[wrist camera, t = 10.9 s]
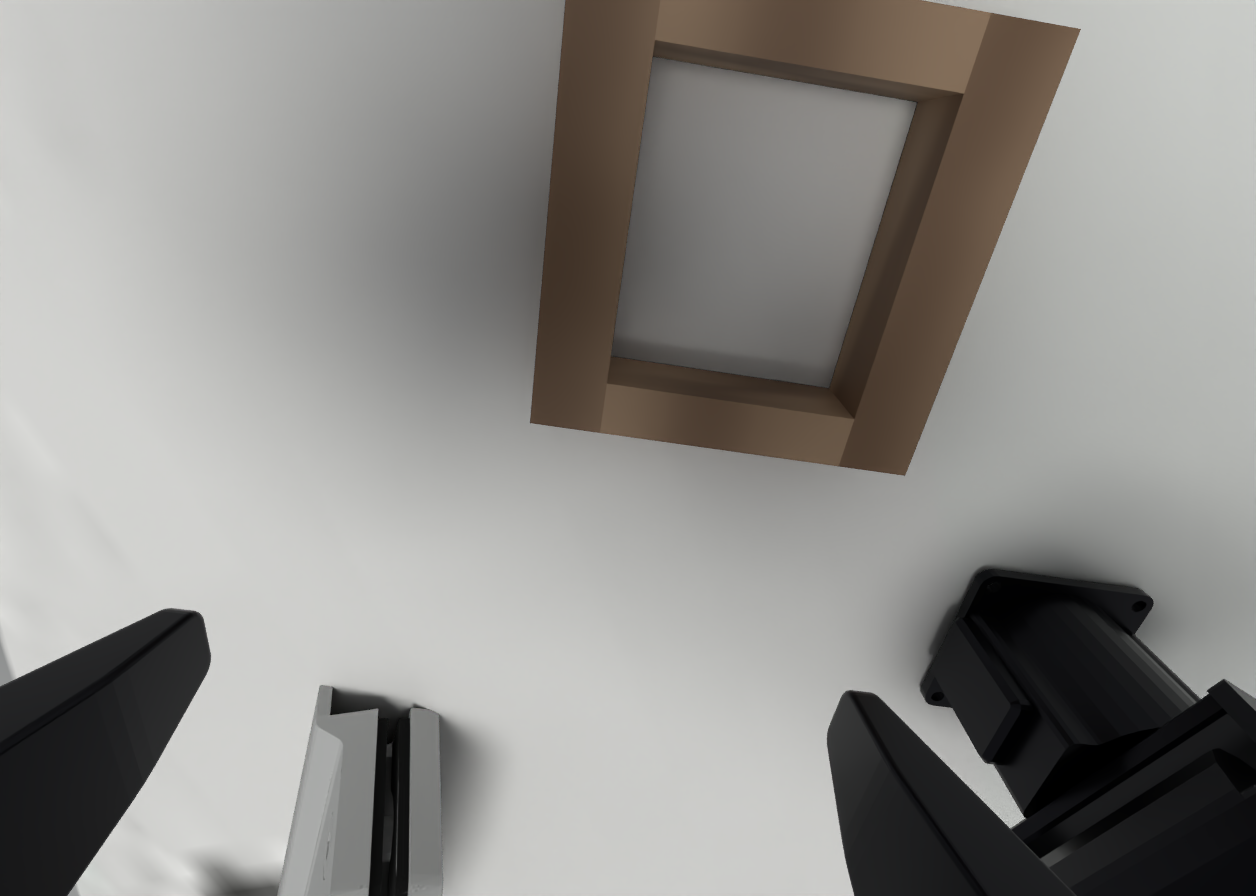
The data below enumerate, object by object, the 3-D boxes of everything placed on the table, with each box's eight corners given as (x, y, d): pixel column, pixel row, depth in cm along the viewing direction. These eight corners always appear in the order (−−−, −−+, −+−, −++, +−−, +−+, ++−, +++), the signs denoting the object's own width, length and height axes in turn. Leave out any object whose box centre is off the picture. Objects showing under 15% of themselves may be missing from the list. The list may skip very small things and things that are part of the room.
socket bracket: (1016, 47, 15) (1080, 29, 13) (874, 439, 20) (905, 475, 18) (581, -31, 15) (570, -64, 13) (542, 391, 20) (530, 422, 17)
